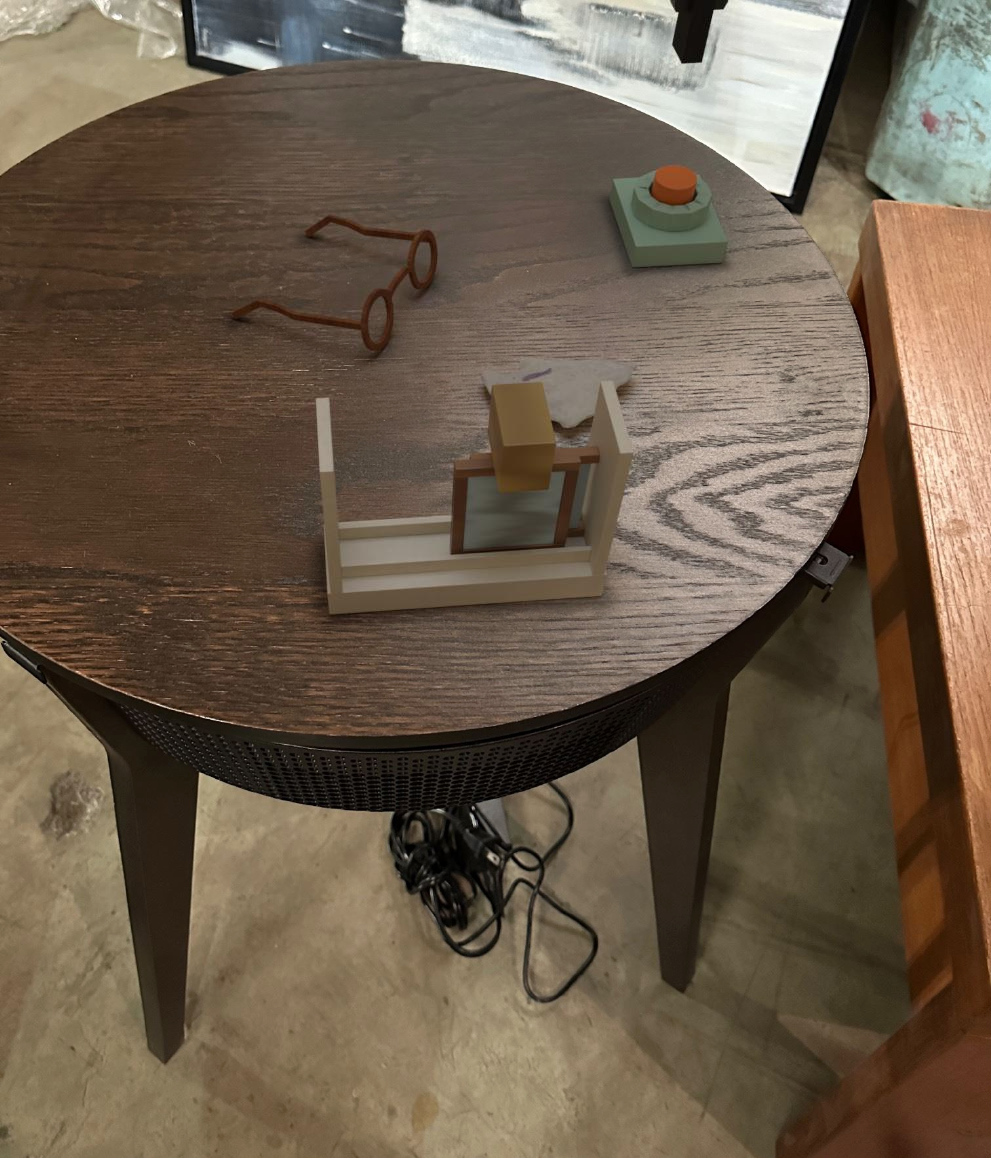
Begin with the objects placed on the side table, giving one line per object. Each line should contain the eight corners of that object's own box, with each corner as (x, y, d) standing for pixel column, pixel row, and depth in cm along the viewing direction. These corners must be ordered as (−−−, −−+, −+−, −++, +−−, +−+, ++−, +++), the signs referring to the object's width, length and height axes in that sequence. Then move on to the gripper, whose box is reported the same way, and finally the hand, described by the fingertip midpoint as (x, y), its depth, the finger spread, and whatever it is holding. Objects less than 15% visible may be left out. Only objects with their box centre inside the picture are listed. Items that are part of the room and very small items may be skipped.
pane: (557, 518, 75) (581, 378, 65) (569, 577, 72) (597, 440, 62) (445, 525, 74) (452, 386, 64) (454, 584, 72) (462, 448, 61)
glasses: (372, 365, 88) (370, 316, 84) (231, 318, 91) (223, 268, 87) (440, 271, 95) (442, 222, 91) (307, 231, 99) (303, 182, 95)
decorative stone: (475, 390, 88) (473, 364, 85) (610, 338, 89) (612, 311, 86) (520, 464, 83) (519, 439, 81) (661, 409, 84) (665, 382, 82)
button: (687, 181, 97) (691, 163, 95) (697, 206, 95) (701, 188, 93) (647, 183, 97) (650, 165, 95) (656, 208, 95) (660, 190, 93)
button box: (694, 195, 102) (704, 155, 99) (722, 262, 96) (733, 223, 93) (609, 199, 101) (615, 160, 98) (631, 267, 95) (639, 228, 92)
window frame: (585, 527, 78) (616, 379, 67) (602, 596, 74) (637, 452, 63) (325, 544, 77) (312, 397, 66) (329, 614, 73) (316, 472, 62)
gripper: (867, -391, 63) (758, 22, 82) (644, -384, 62) (586, 31, 81) (918, -352, 59) (791, 75, 78) (678, -344, 58) (609, 86, 77)
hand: (686, 52), depth 79 cm, fingers closed
